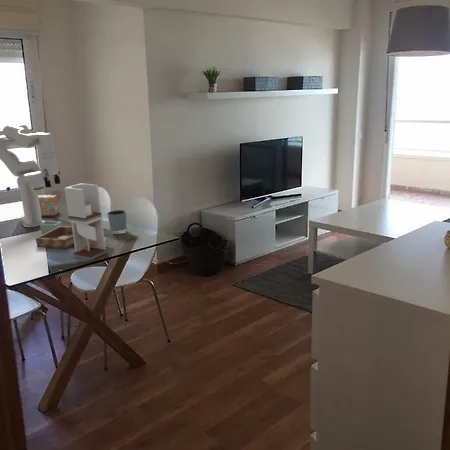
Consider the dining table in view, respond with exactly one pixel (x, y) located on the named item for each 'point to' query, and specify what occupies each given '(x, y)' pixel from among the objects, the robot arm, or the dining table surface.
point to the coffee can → (39, 190)
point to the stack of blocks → (48, 204)
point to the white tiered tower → (85, 220)
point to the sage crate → (49, 226)
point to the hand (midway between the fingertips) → (53, 185)
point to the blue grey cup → (117, 220)
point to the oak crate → (56, 238)
